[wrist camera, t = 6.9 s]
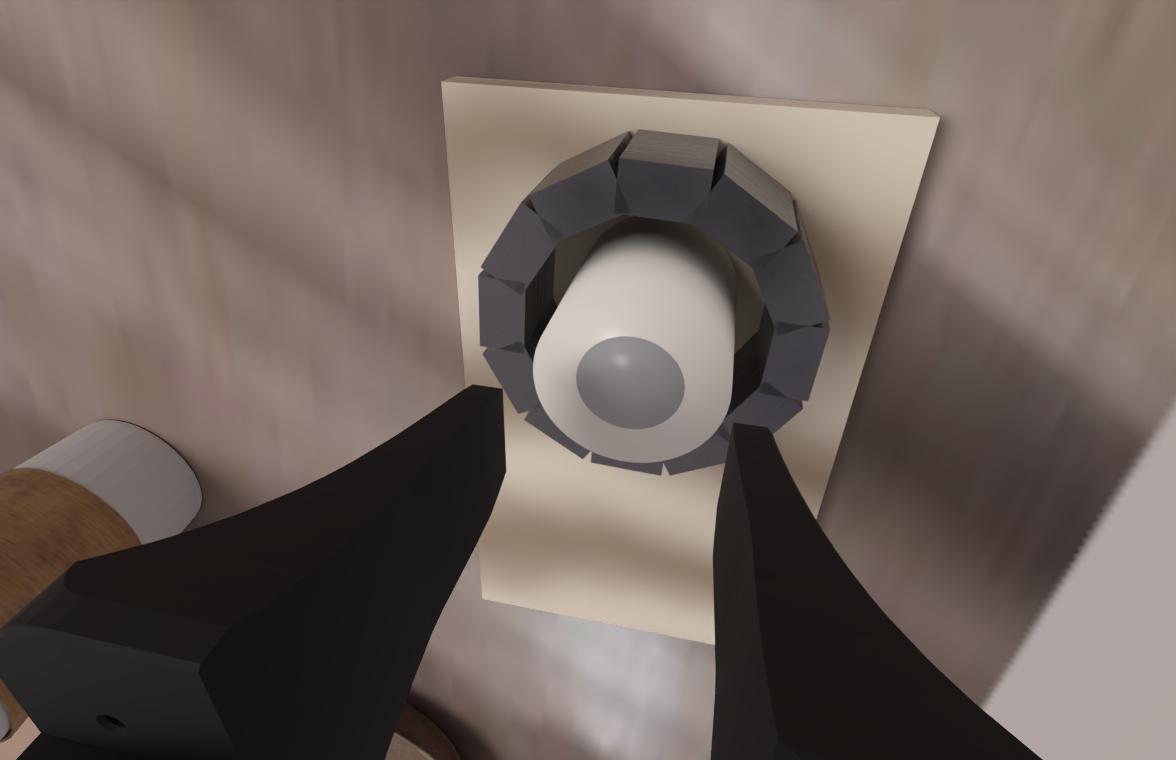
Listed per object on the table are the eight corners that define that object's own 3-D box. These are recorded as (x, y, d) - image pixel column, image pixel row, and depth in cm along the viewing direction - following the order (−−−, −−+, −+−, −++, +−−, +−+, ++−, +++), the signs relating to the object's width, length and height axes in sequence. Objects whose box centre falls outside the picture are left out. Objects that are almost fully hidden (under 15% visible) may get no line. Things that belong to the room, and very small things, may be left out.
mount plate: (773, 635, 26) (774, 656, 26) (490, 580, 28) (482, 598, 27) (929, 109, 16) (940, 117, 15) (455, 76, 17) (441, 81, 17)
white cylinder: (671, 382, 20) (650, 492, 16) (553, 299, 19) (499, 392, 15) (771, 278, 18) (776, 377, 13) (640, 179, 17) (603, 250, 13)
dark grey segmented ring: (681, 455, 21) (672, 519, 19) (465, 306, 20) (425, 354, 18) (884, 267, 17) (909, 319, 14) (623, 58, 16) (600, 75, 13)
